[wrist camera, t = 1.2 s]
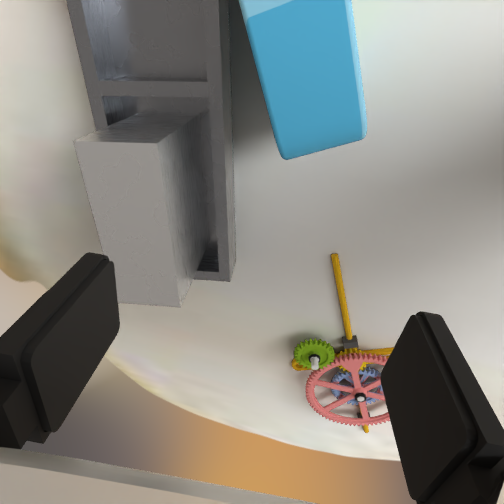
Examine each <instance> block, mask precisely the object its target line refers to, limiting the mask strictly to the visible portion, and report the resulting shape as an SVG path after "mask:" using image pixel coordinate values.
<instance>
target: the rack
mask: <svg viewBox="0 0 504 504" xmlns="http://www.w3.org/2000/svg"><path fill="white" fill-rule="evenodd" d="M66 1H67V5H68V9H69V14H70V18H71V22H72V27H73V31H74V35H75V40H76V44H77V48H78V53H79V57H80V62H81V66H82V70H83V75H84V79H85V83H86V88H87V92H88V96H89V101H90V105H91V109H92V114H93V118H94V122H95V127H96V131H95V132H93V133H91V134H88V135H86V136H84V137H81V138H79V139H77V140H74V141H73V143H74V146H75V150H76V154H77V158H78V161H79V165H80V169H81V172H82V176H83V180H84V184H85V187H86V191H87V195H88V198H89V202H90V206H91V210H92V213H93V217H94V221H95V225H96V228H97V232H98V236H99V239H100V243H101V247H102V251H103V254H104V255H106V256H108V258H109V261H112V262H113V263H114V268H115V278H116V289H117V300H118V303H129V304H143V305H156V306H169V307H181V305H182V303H183V300H184V298H185V296H186V294H187V291H188V289H189V287H190V285H191V282H192V280H193V279H198V280H213V281H228V282H230V280H231V276H232V273H233V269H234V266H235V262H236V243H235V208H234V173H233V138H232V103H231V68H230V33H229V0H66Z"/></svg>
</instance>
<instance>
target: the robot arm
mask: <svg viewBox="0 0 504 504" xmlns="http://www.w3.org/2000/svg"><path fill="white" fill-rule="evenodd" d="M119 326H120V321H119V310H118V300H117V289H116V278H115V268H114V263H113V262H112V261H109V258H108V256H106V255H101V254H95V253H90V252H89V253H86V254H85V255H84V256H83V257H82V258H81V259H80V260H79V261H78V262H77V263H76V264H75V265H74V266H73V267H72V268H71V269H70V270H69V271H68V272H67V273H66V274H65V275H64V276H63V277H62V278H61V279H60V280H59V281H58V282H57V283H56V284H55V285H54V286H53V287H52V288H51V289H50V290H48V291H47V292H46V293H45V294H43V295H42V297H40V298H39V299H38V300H37V301H36V302H35V303H34V304H33V305H32V306H31V307H30V308H29V309H28V310H27V311H26V312H25V313H24V314H23V315H22V316H21V317H20V318H19V319H18V320H17V321H16V322H15V323H14V324H13V325H12V326H11V327H10V328H9V329H8V330H7V331H6V332H5V333H4V334H3V335H2V336H1V337H0V504H316V503H312V502H307V501H302V500H297V499H291V498H286V497H281V496H275V495H270V494H265V493H259V492H254V491H249V490H244V489H239V488H233V487H228V486H223V485H217V484H212V483H207V482H201V481H196V480H191V479H185V478H180V477H175V476H169V475H163V474H158V473H153V472H147V471H142V470H136V469H131V468H126V467H120V466H114V465H109V464H104V463H98V462H93V461H87V460H82V459H76V458H70V457H64V456H58V455H51V454H46V453H39V452H33V451H27V450H21V448H22V447H23V445H24V444H25V442H26V441H32V442H37V443H42V444H43V443H44V442H45V441H46V439H47V437H48V436H49V434H50V433H51V432H56V431H57V430H58V429H59V427H60V426H61V425H62V423H63V421H64V420H65V418H66V417H67V415H68V413H69V412H70V410H71V408H72V407H73V405H74V404H75V402H76V400H77V399H78V397H79V395H80V394H81V392H82V391H83V389H84V387H85V386H86V384H87V382H88V381H89V379H90V378H91V376H92V374H93V373H94V371H95V369H96V368H97V366H98V364H99V363H100V361H101V359H102V358H103V356H104V355H105V353H106V352H107V350H108V348H109V347H110V345H111V343H112V342H113V340H114V339H115V337H116V335H117V333H118V331H119ZM380 379H381V385H382V389H383V393H384V397H385V401H386V405H387V409H388V413H389V417H390V421H391V424H392V428H393V432H394V436H395V440H396V444H397V448H398V452H399V456H400V459H401V463H402V467H403V471H404V475H405V479H406V483H407V486H408V491H409V494H410V496H411V498H412V499H413V500H416V502H417V504H504V429H503V427H502V426H501V424H500V422H499V420H498V418H497V416H496V415H495V413H494V411H493V409H492V407H491V406H490V404H489V402H488V400H487V398H486V396H485V395H484V393H483V391H482V389H481V387H480V385H479V384H478V382H477V380H476V378H475V376H474V374H473V373H472V371H471V369H470V367H469V365H468V363H467V362H466V360H465V358H464V356H463V354H462V352H461V351H460V349H459V347H458V345H457V343H456V341H455V340H454V338H453V336H452V334H451V332H450V330H449V329H448V327H447V325H446V323H445V321H444V319H443V318H442V316H440V315H438V314H433V313H427V312H418V313H417V314H416V315H412V316H411V317H410V318H409V320H408V322H407V324H406V326H405V328H404V330H403V331H402V333H401V335H400V337H399V339H398V341H397V343H396V345H395V347H394V349H393V351H392V352H391V354H390V356H389V358H388V360H387V362H386V364H385V366H384V368H383V370H382V372H381V378H380Z"/></svg>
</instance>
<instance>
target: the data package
mask: <svg viewBox="0 0 504 504" xmlns="http://www.w3.org/2000/svg"><path fill="white" fill-rule="evenodd" d="M239 4H240V8H241V11H242V15H243V19H244V23H245V26H246V30H247V34H248V38H249V42H250V45H251V49H252V53H253V57H254V61H255V64H256V68H257V72H258V76H259V80H260V83H261V87H262V91H263V95H264V98H265V102H266V106H267V110H268V114H269V117H270V121H271V125H272V129H273V133H274V136H275V140H276V143H277V147H278V150H279V152H280V155H281V156H282V158H283V159H285V160H288V159H292V158H296V157H300V156H303V155H307V154H311V153H314V152H318V151H322V150H325V149H329V148H333V147H336V146H340V145H344V144H348V143H351V142H355V141H359V140H362V139H363V138H364V137H365V136H366V133H367V118H366V109H365V101H364V94H363V86H362V78H361V71H360V63H359V55H358V48H357V40H356V33H355V25H354V17H353V10H352V2H351V0H239Z"/></svg>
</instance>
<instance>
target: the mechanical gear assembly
mask: <svg viewBox="0 0 504 504" xmlns="http://www.w3.org/2000/svg"><path fill="white" fill-rule="evenodd" d="M331 258H332V264H333V269H334V274H335V279H336V285H337V290H338V295H339V301H340V306H341V311H342V317H343V322H344V327H345V332H346V337H342V339H343V344H344V350H345V352H343V351H340V353H334V350H333V347H332V346H330V343H328V344H326V341H323V342H321V339H320V340H318V341H317V340H316V338H315V339H314V341H313V340H312V339H311V338H310V339H309V341H307V340H306V339H305V342H302V341H301V342H300V344H301V345H300V344H297V347H295V351H294V359H293V361H292V367H293V369H295V370H298V371H301V370H313V372H311V375H309V378H308V380H307V383H306V398H307V400H308V403H310V406H312V408H314V411H316V412H317V413H319V415H322V417H326V419H328V418H329V420H332V419H333V422H335V421H337V423H339V422H341V424H343V423H345V425H347V424H349V425H350V426H351V425H352V424H353V425H354V426H355V425H356V424H357V425H358V426H360V425H361V424H362V426H363V429H364V432H365V433H368V432H369V430H368V425H369V424H371V425H373V423H374V424H376V425H377V423H380V424H382V423H381V422H384V423H385V422H386V421H385V420H387V421H390V420H389V419H390V417H389V413H388V412H387V413H385V414H383V415H379V416H375V417H370V414H369V412H368V411H367V407H366V405H367V402H368V403H370V404H371V401H373V402H375V400H384V401H385V397H384V393H383V389H382V385H381V379H380V378H381V373H378V371H375V370H374V369H371V370H370V367H368V368H367V369H366V368H365V367H366V364H374V363H376V364H380V365H384V366H385V364H386V362H387V360H388V358H389V356H381V355H388V354H391V352H392V351H393V349H394V347H393V348H383V349H374V350H364V351H361V350H360V349H359V350H358V349H357V348H358V342H357V337H356V335H355V336H352V332H351V327H350V321H349V315H348V310H347V304H346V298H345V292H344V287H343V281H342V275H341V270H340V264H339V258H338V254H332V255H331ZM378 355H379V356H378ZM298 364H299V365H298ZM333 367H339V368H340V369H341V368H343V370H341V372H337V374H335V375H334V376H335V377H332V379H333V380H331V383H330V382H326V381H322V380H318V379H319V378H320V377H321V376H322V375H323V374H324V373H325V372H327V371H328V370H330V369H332V368H333ZM359 374H363V375H362V376H361V378H359ZM350 375H352V377H351V376H350ZM369 376H371V377H373V378H375V379H376V380H375V381H373V382H371V383H364V382H365V381H366V379H367V378H368V377H369ZM343 378H345V379H346V380H347V381H349V382H350V383H351V384H350V385H339V382H340V381H341V380H342V379H343ZM315 385H318V386H323V387H327V388H331V391H332V393H333V394H334V396H335V397H337V399H338V400H336V401H334V402H333V403H331V404H329V405H327V406H325V407H322V406H321V405H320V404H319V403H318V401H317V399H316V397H315V394H314V387H315ZM375 387H378V389H377V391H376V392H370V391H369V390H371V389H373V388H375ZM340 391H344V392H349V393H350V394H348V395H344V394H343V393H342V392H340ZM346 402H347V404H349V403H352V405H353V404H354V403H356V405H358V404H359V407H360V413H357V415H358V418H350V417H343V416H340V415H337V414H334V413H332V412H330V410H332V409H334V408H336V407H338V406H340V405H342V404H344V403H346Z"/></svg>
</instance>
